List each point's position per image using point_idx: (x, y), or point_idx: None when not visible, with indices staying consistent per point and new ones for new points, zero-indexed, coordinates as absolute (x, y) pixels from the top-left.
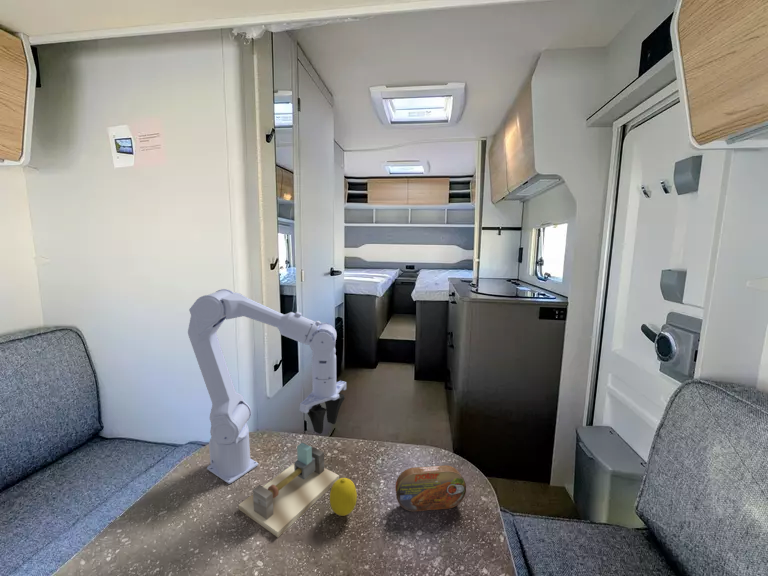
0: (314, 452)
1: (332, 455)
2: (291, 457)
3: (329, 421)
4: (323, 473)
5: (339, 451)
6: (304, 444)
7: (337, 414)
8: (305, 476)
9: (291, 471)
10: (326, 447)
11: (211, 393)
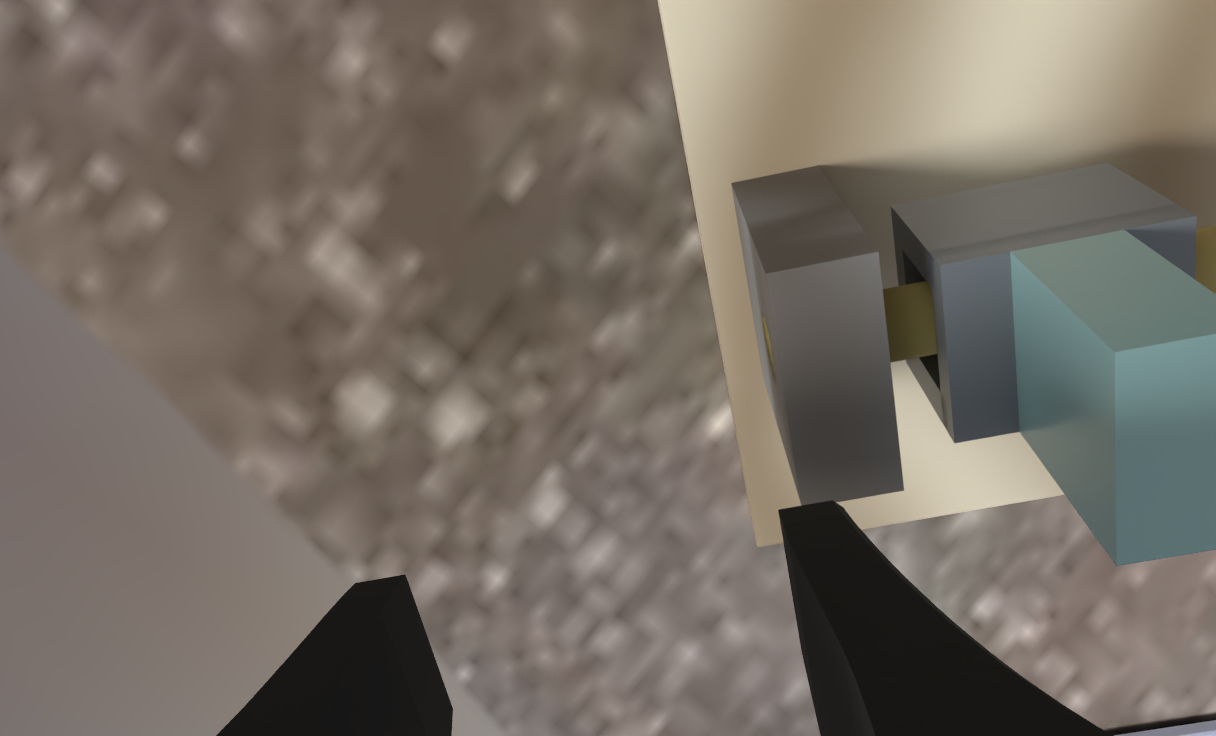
0: (871, 371)
1: (438, 373)
2: (793, 635)
3: (438, 690)
4: (772, 146)
5: (328, 373)
6: (1133, 500)
7: (255, 706)
8: (1089, 174)
9: (998, 437)
10: (411, 526)
11: None
